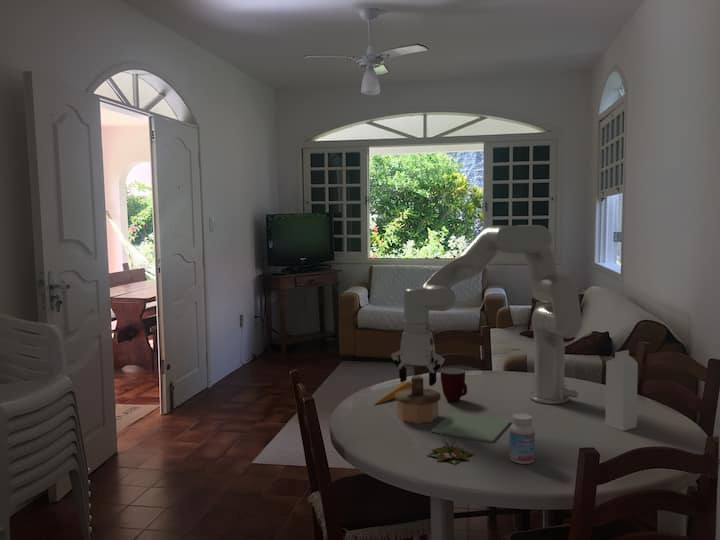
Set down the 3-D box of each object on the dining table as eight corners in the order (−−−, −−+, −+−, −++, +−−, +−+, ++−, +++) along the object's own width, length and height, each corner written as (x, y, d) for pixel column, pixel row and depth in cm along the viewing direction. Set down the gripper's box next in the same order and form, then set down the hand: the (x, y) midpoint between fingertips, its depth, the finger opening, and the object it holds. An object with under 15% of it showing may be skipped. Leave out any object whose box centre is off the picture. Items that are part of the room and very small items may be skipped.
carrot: (407, 393, 212) (402, 381, 213) (416, 390, 209) (411, 378, 210) (371, 413, 198) (366, 400, 198) (380, 410, 194) (375, 397, 195)
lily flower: (483, 456, 154) (482, 438, 154) (457, 471, 145) (456, 452, 145) (444, 444, 162) (444, 428, 162) (417, 458, 153) (417, 441, 153)
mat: (510, 422, 177) (510, 420, 177) (492, 442, 162) (492, 440, 162) (453, 414, 186) (453, 412, 186) (430, 432, 170) (430, 430, 170)
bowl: (442, 413, 187) (442, 395, 186) (427, 425, 176) (427, 405, 176) (408, 408, 192) (408, 390, 192) (392, 419, 182) (392, 400, 182)
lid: (447, 394, 187) (447, 375, 186) (429, 407, 174) (429, 386, 174) (406, 389, 193) (406, 370, 193) (387, 400, 181) (386, 381, 181)
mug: (476, 402, 198) (475, 372, 197) (459, 407, 193) (459, 377, 192) (451, 395, 206) (451, 367, 205) (435, 400, 201) (435, 371, 200)
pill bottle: (521, 466, 146) (521, 421, 145) (504, 458, 151) (504, 414, 150) (540, 461, 148) (540, 417, 148) (522, 453, 154) (522, 410, 153)
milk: (636, 427, 171) (638, 352, 169) (622, 431, 168) (624, 354, 167) (618, 421, 177) (620, 348, 175) (604, 425, 174) (606, 350, 172)
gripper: (447, 327, 181) (448, 383, 183) (396, 324, 190) (397, 377, 191) (438, 332, 175) (439, 389, 176) (385, 328, 183) (387, 382, 185)
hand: (417, 383), depth 184 cm, fingers open, 9 cm apart
